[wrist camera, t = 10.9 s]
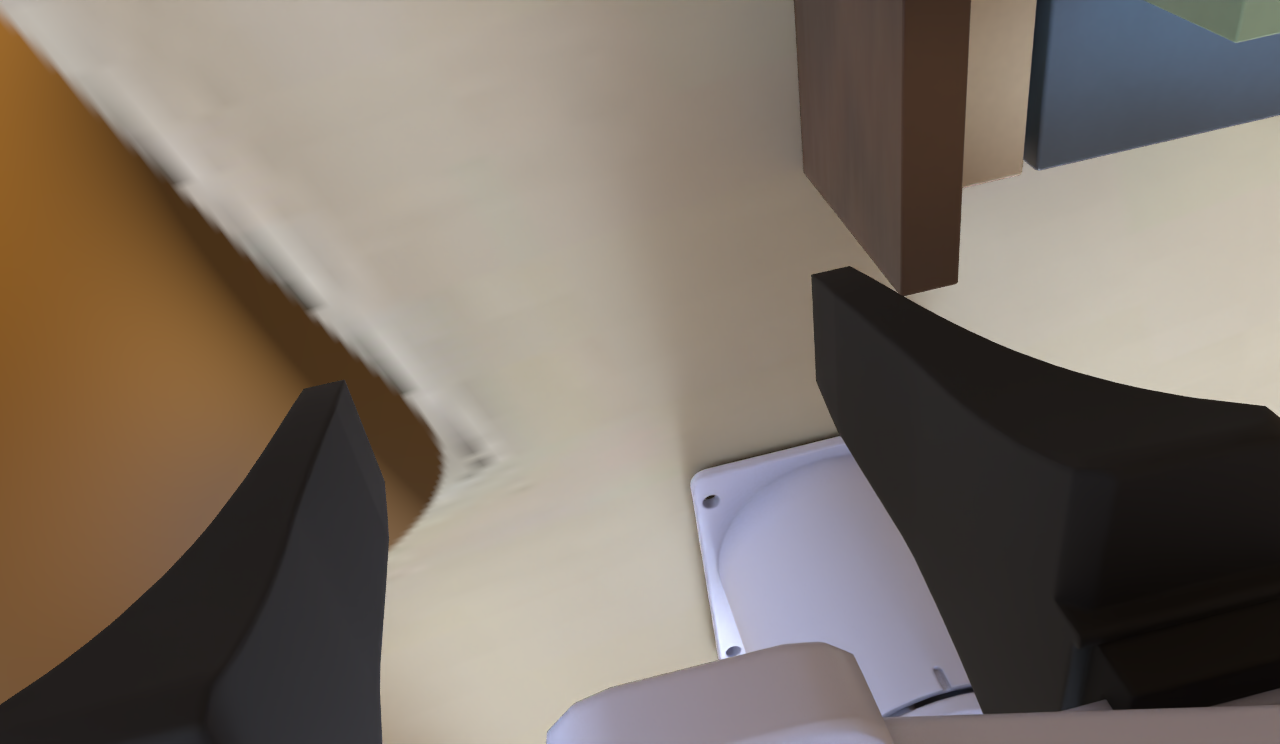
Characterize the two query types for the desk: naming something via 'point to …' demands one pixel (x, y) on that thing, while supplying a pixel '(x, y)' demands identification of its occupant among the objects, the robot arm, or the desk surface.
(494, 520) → the desk surface
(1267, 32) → the green cube block
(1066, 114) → the bed
